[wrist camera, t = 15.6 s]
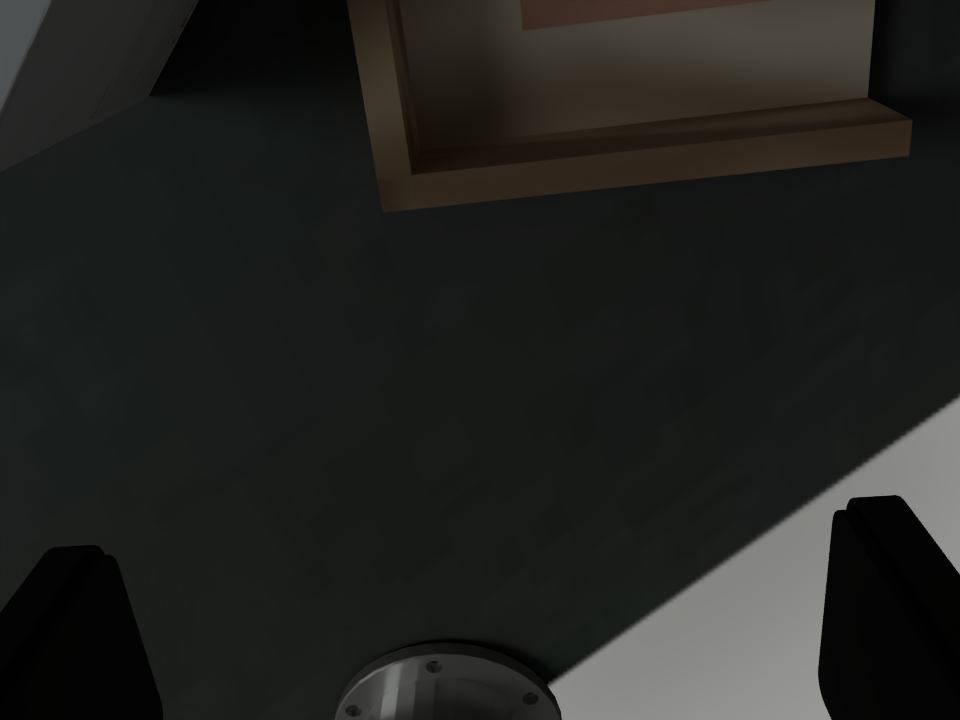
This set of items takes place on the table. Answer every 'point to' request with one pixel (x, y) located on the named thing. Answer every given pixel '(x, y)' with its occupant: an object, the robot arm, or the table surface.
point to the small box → (77, 65)
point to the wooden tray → (611, 93)
